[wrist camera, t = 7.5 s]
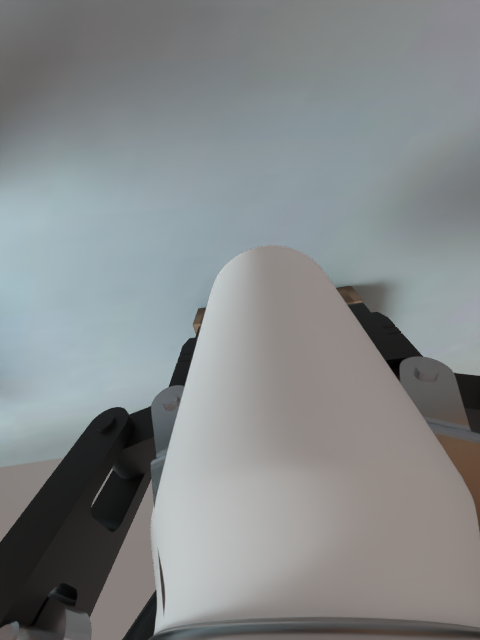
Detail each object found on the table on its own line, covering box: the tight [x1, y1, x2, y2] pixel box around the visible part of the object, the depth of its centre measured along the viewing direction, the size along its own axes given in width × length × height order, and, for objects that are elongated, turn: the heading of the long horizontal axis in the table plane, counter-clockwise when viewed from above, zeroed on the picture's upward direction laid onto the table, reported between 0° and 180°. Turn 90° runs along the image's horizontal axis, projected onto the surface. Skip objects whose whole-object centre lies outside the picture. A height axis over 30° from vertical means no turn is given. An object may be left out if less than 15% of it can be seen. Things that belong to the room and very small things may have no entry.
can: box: [148, 245, 480, 640], centre depth 9 cm, size 6×6×12 cm
